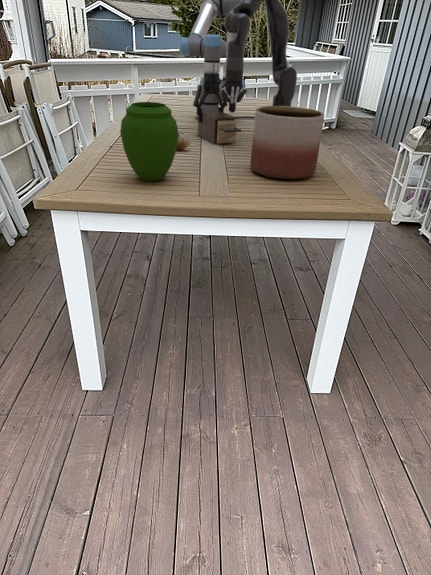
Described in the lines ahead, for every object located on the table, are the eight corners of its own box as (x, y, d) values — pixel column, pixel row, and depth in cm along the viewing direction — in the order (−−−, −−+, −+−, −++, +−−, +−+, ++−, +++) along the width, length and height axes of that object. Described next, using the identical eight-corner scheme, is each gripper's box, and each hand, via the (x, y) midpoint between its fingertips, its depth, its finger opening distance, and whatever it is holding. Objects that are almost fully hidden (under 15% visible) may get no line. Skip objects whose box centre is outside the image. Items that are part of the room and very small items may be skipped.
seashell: (189, 148, 186) (189, 129, 181) (190, 151, 181) (190, 132, 177) (168, 148, 184) (168, 129, 180) (169, 151, 180) (168, 132, 175)
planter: (324, 181, 152) (336, 118, 140) (258, 182, 148) (265, 117, 136) (301, 162, 173) (310, 106, 162) (243, 162, 169) (248, 104, 157)
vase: (131, 189, 135) (125, 110, 122) (118, 172, 150) (112, 100, 137) (186, 184, 142) (187, 109, 129) (169, 168, 157) (167, 99, 144)
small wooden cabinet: (233, 142, 199) (235, 117, 193) (214, 144, 195) (215, 117, 189) (215, 134, 215) (216, 109, 208) (197, 135, 211) (198, 110, 204)
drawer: (241, 145, 192) (242, 123, 187) (223, 146, 188) (224, 123, 183) (218, 133, 210) (219, 113, 205) (202, 134, 207) (202, 114, 202)
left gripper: (229, 72, 202) (226, 119, 214) (186, 71, 193) (186, 121, 205) (236, 73, 196) (233, 122, 208) (192, 73, 187) (191, 124, 199)
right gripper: (243, 68, 180) (240, 110, 190) (216, 67, 175) (215, 111, 185) (252, 69, 175) (248, 113, 184) (224, 69, 170) (222, 114, 179)
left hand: (209, 121), depth 206 cm, fingers closed on small wooden cabinet, 10 cm apart
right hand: (231, 112), depth 184 cm, fingers closed
